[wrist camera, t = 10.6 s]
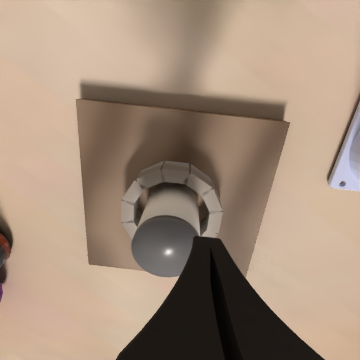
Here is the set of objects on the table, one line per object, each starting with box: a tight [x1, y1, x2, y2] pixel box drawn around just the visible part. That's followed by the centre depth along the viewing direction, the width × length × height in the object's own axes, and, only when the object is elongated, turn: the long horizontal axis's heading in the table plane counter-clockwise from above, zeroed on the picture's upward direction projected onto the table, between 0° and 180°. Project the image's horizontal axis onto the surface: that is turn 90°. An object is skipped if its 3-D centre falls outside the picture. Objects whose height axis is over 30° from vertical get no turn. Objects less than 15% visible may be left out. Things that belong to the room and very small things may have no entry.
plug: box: [131, 182, 200, 277], centre depth 16 cm, size 4×4×6 cm
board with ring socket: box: [76, 99, 290, 278], centre depth 19 cm, size 16×16×3 cm
